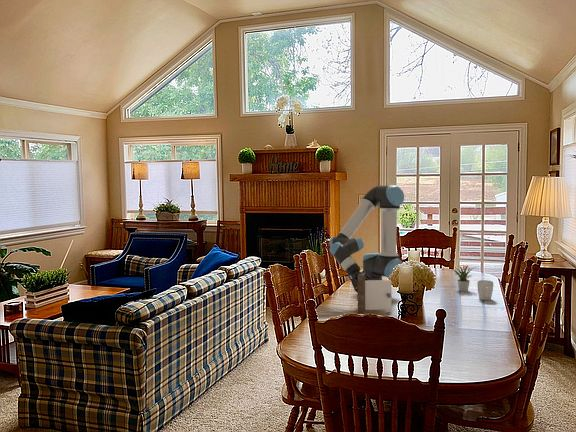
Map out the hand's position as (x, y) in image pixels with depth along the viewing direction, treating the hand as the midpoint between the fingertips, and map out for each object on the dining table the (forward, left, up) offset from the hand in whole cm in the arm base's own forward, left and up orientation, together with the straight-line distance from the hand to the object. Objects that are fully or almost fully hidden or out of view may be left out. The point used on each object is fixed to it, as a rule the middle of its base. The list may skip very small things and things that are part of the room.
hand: (375, 297), depth 273 cm
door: (+6, +5, -4) cm, 9 cm away
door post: (+13, -1, -6) cm, 14 cm away
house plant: (-71, +24, -6) cm, 75 cm away
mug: (-53, +41, -6) cm, 68 cm away
